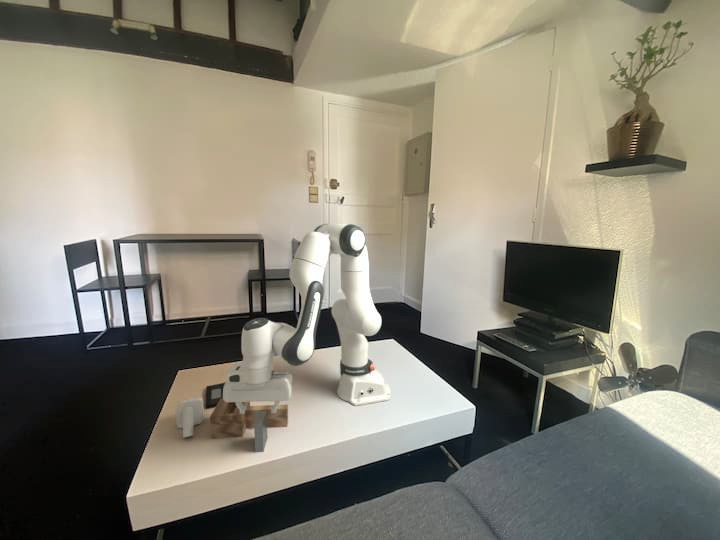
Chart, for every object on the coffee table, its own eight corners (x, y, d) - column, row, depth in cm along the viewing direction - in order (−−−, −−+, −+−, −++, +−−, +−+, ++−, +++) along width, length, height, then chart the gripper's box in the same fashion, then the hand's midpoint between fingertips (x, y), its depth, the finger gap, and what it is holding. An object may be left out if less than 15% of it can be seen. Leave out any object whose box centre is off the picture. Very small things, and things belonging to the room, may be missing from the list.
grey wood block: (267, 437, 99) (266, 410, 97) (263, 451, 93) (262, 423, 92) (259, 438, 99) (258, 411, 97) (255, 452, 93) (253, 423, 91)
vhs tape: (226, 386, 129) (225, 382, 129) (227, 405, 116) (226, 400, 116) (206, 390, 126) (206, 386, 125) (205, 410, 113) (205, 405, 113)
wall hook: (173, 443, 95) (171, 412, 95) (178, 430, 104) (177, 401, 105) (201, 436, 98) (200, 406, 99) (204, 424, 108) (202, 396, 108)
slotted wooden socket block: (289, 415, 110) (289, 395, 109) (285, 434, 101) (285, 413, 99) (222, 418, 108) (220, 398, 107) (211, 438, 98) (209, 416, 97)
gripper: (293, 366, 95) (293, 405, 98) (227, 366, 93) (228, 406, 96) (290, 376, 89) (290, 417, 92) (219, 377, 87) (221, 419, 90)
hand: (258, 412), depth 94 cm, fingers open, 8 cm apart
